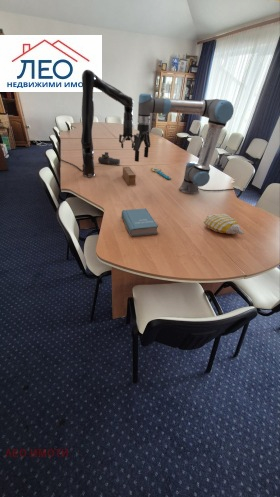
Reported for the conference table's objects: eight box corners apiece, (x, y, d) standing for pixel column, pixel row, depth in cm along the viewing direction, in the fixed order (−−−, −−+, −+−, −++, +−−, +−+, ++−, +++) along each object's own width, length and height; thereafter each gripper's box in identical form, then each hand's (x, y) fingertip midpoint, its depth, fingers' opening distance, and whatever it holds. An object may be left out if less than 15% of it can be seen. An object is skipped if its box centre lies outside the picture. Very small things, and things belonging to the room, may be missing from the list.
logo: (149, 168, 227) (150, 167, 227) (158, 168, 230) (158, 167, 229) (161, 179, 202) (161, 179, 201) (171, 179, 204) (171, 178, 204)
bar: (122, 176, 205) (122, 166, 199) (128, 175, 206) (129, 166, 201) (128, 185, 187) (128, 175, 182) (135, 185, 188) (135, 174, 183)
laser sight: (117, 166, 227) (117, 156, 221) (96, 163, 230) (96, 153, 224) (120, 163, 234) (120, 154, 229) (100, 161, 237) (99, 151, 231)
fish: (254, 225, 128) (232, 232, 118) (249, 236, 132) (228, 244, 123) (221, 208, 144) (199, 213, 134) (217, 218, 149) (196, 224, 139)
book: (157, 233, 128) (158, 226, 125) (130, 236, 123) (130, 229, 120) (145, 215, 145) (146, 208, 142) (121, 217, 141) (121, 210, 138)
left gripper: (135, 126, 182) (134, 147, 192) (118, 125, 179) (118, 147, 188) (137, 127, 177) (136, 149, 186) (120, 127, 173) (120, 149, 183)
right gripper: (139, 126, 127) (137, 164, 140) (157, 122, 146) (154, 156, 158) (128, 124, 130) (127, 162, 143) (147, 121, 148) (144, 154, 161)
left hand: (127, 148), depth 187 cm, fingers open, 8 cm apart
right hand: (141, 159), depth 150 cm, fingers open, 13 cm apart
